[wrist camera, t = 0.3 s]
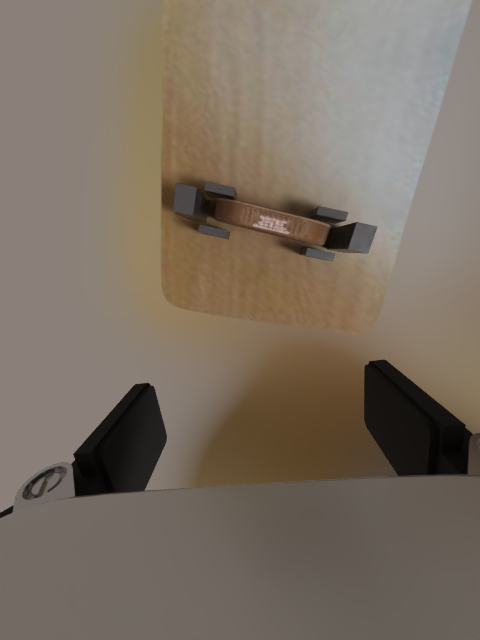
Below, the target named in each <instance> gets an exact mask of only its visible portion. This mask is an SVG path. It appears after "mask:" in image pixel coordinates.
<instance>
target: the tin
mask: <svg viewBox="0 0 480 640" xmlns="http://www.w3.org/2000/svg"><path fill="white" fill-rule="evenodd" d="M215 218H216V220H218V221H221V222H224V223H228V224H232V225H236V226H240V227H244V228H248V229H252V230H256V231H260V232H264V233H268V234H272V235H276V236H280V237H285V238H289V239H294V240H298V241H302V242H307V243H311V244H315V245H324V244H325V241H326V239H327V236H328V233H329V230H330V228H331V225H329V224H326V223H323V222H320V221H317V220H313V219H309V218H305V217H301V216H297V215H293V214H289V213H285V212H280V211H276V210H272V209H268V208H264V207H260V206H256V205H252V204H248V203H244V202H239V201H234V200H229V199H223V198H218V199H217V205H216V211H215Z"/></svg>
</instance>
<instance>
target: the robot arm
mask: <svg viewBox="0 0 480 640" xmlns="http://www.w3.org/2000/svg"><path fill="white" fill-rule="evenodd" d="M364 389H365V390H364V392H365V396H364V405H365V406H364V420H365V424H366V427H367V429H368V430H369V431H370V433H371V435H372V436H373V438H374V439H375V441H376V442H377V444H378V445H379V447H380V448H381V450H382V451H383V453H384V454H385V456H386V458H387V459H388V461H389V462H390V464H391V465H392V467H393V468H394V470H395V471H396V473H397V475H398V476H388V477H371V478H370V477H369V478H350V479H334V480H333V479H332V480H314V481H296V482H279V483H264V484H263V483H262V484H245V485H229V486H212V487H196V488H180V489H164V490H149V491H144V490H145V488H146V486H147V484H148V482H149V479H150V477H151V475H152V473H153V470H154V468H155V466H156V464H157V461H158V459H159V457H160V455H161V453H162V450H163V448H164V446H165V444H166V440H167V435H166V430H165V427H164V423H163V419H162V415H161V411H160V408H159V404H158V400H157V396H156V392H155V389H154V387H153V386H150V384H149V383H143V384H135V385H134V386H133V387H132V388H131V389H130V391H129V392H128V393H127V394H126V395H125V396H124V397H123V399H122V400H121V401H120V402H119V403H118V404H117V405H116V407H115V408H114V409H113V410H112V411H111V412H110V413H109V415H108V416H107V417H106V418H105V419H104V420H103V421H102V422H101V424H100V425H99V426H98V427H97V428H96V429H95V430H94V431H93V433H92V434H91V435H90V436H89V437H88V438H87V439H86V440H85V442H84V443H83V444H82V445H81V446H80V447H79V448H78V450H77V451H76V452H75V453H74V454H73V455H74V457H75V461H74V462H73V463H72V464H69V463H57V464H54V465H51V466H49V467H47V468H45V469H43V470H41V471H39V472H38V473H36V474H35V475H34V476H32V477H31V478H30V479H29V480H27V481H26V482H25V483H24V484H23V485H22V487H21V488H20V489H19V491H18V492H17V495H16V497H15V502H14V505H13V506H11V507H10V508H8V509H6V510H4V511H3V512H1V513H0V640H480V433H476V434H474V435H473V434H472V433H471V432H470V431H469V430H467V429H466V428H465V424H464V423H462V422H461V421H460V420H459V419H457V418H456V417H455V416H454V415H453V414H451V413H450V412H449V411H448V410H446V409H445V408H444V407H443V406H441V405H440V404H439V403H438V402H437V401H435V400H434V399H433V398H431V397H430V396H429V395H428V394H427V393H425V392H424V391H423V390H422V389H420V388H419V387H418V386H417V385H416V384H414V383H413V382H412V381H411V380H410V379H408V378H407V377H406V376H404V375H403V374H402V373H401V372H400V371H398V370H397V369H396V368H395V367H393V366H392V365H391V364H390V363H388V362H387V361H386V360H377V361H370V362H369V364H368V365H365V379H364Z"/></svg>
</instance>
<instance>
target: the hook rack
mask: <svg viewBox="0 0 480 640" xmlns="http://www.w3.org/2000/svg"><path fill="white" fill-rule="evenodd" d="M204 190H205V191H206V193H207V194H208V195H209V196H210V197H214V198H223V199H229V200H234V201H236V197H237V193H236V190H235V188H234V187H229V186H225V185H220V184H215V183H211V182H205V189H204ZM208 205H209V200H208V199H207V198H206V197H205V196H204V195H203V194H202V193H201V192H200V190H199V189H198V188H197V187H193V186H188V185H184V184H179V183H176V186H175V195H174V204H173V212H175V213H178V214H180V215H182V216H184V217H186V218H188V219H190V220H195V221H199V222H204V223H206V218H207V211H208ZM347 215H348V212H344V211H340V210H335V209H330V208H326V207H321V206H319V207H317V208H316V209H314V210H312V212H311V216H310V218H311V219H315V220H320V221H325V222H329V223H334V224H336V223H340V222H343V221H346V218H347ZM376 229H377V226H373V225H368V224H363V223H359V222H356V223H352V224H348V225H344V226H340V227H337V228H334V230H333V233H332V237H331V240H330V243H329V247H328V249H329V250H334V251H338V252H343V253H368V252H369V250H370V247H371V244H372V241H373V238H374V235H375V232H376ZM198 232H199V233H202V234H206V235H211V236H215V237H220V238H225V239H229V235H230V232H229V231H227V230H223V229H218V228H214V227H209V226H205V225H200V224H199V230H198ZM300 255H304V256H308V257H313V258H318V259H322V260H328V261H333V260H334V256H335V254H334V253H330V252H325V251H320V250H316V249H311V248H302V249H301V253H300Z"/></svg>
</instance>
